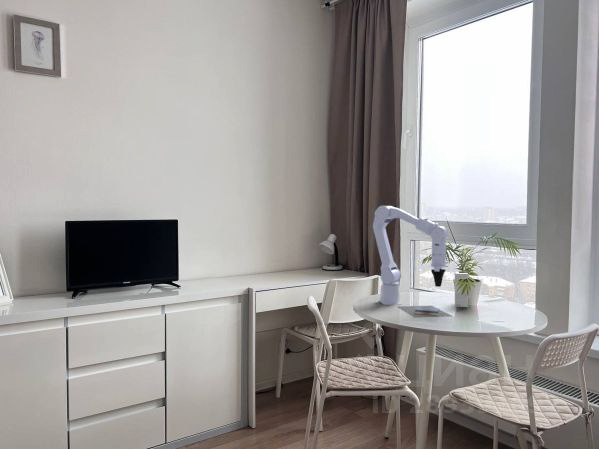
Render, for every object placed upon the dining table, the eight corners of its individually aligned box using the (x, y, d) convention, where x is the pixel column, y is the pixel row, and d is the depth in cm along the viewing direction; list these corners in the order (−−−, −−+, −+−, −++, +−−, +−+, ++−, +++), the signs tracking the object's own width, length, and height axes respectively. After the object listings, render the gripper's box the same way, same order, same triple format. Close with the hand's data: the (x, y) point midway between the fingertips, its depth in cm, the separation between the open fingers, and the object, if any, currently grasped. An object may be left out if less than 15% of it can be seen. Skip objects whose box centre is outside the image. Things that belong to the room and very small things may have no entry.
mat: (396, 307, 200) (396, 306, 200) (431, 306, 203) (431, 305, 203) (414, 318, 181) (414, 317, 181) (453, 317, 183) (453, 316, 183)
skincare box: (468, 308, 200) (469, 274, 199) (453, 307, 202) (454, 273, 201) (469, 304, 207) (470, 271, 207) (455, 303, 210) (456, 270, 209)
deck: (416, 310, 193) (414, 313, 187) (416, 306, 193) (414, 309, 187) (439, 312, 189) (437, 315, 184) (439, 308, 189) (437, 311, 184)
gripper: (447, 256, 188) (446, 289, 188) (449, 253, 201) (449, 284, 202) (429, 255, 190) (428, 288, 191) (433, 252, 204) (432, 283, 204)
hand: (438, 286), depth 196 cm, fingers closed
